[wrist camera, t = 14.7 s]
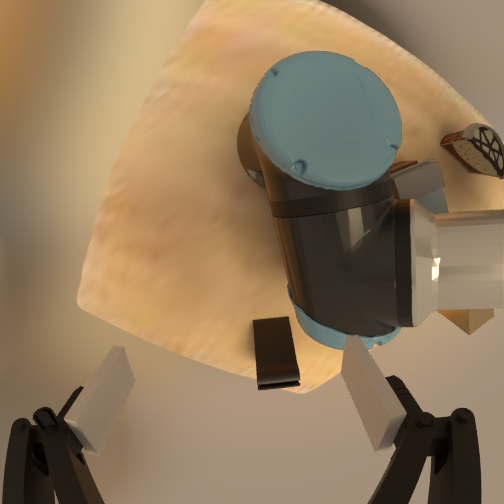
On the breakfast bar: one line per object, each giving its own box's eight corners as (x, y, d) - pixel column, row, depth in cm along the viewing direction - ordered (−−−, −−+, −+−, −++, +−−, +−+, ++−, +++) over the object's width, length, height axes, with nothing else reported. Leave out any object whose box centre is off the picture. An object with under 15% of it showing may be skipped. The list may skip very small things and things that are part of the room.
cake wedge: (480, 152, 38) (513, 151, 29) (473, 176, 40) (507, 180, 30) (442, 114, 37) (476, 106, 27) (434, 140, 38) (470, 136, 29)
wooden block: (422, 276, 35) (468, 302, 24) (446, 262, 34) (493, 283, 24) (427, 304, 36) (469, 335, 25) (450, 289, 35) (493, 316, 25)
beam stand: (348, 182, 40) (365, 183, 34) (411, 158, 39) (433, 156, 33) (376, 267, 44) (393, 280, 38) (432, 238, 43) (453, 246, 36)
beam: (375, 180, 34) (387, 179, 30) (427, 159, 33) (441, 157, 29) (411, 316, 38) (422, 325, 35) (456, 288, 37) (468, 295, 34)
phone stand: (290, 358, 48) (300, 403, 37) (257, 361, 48) (259, 407, 37) (288, 316, 46) (300, 357, 34) (253, 319, 46) (254, 362, 34)
